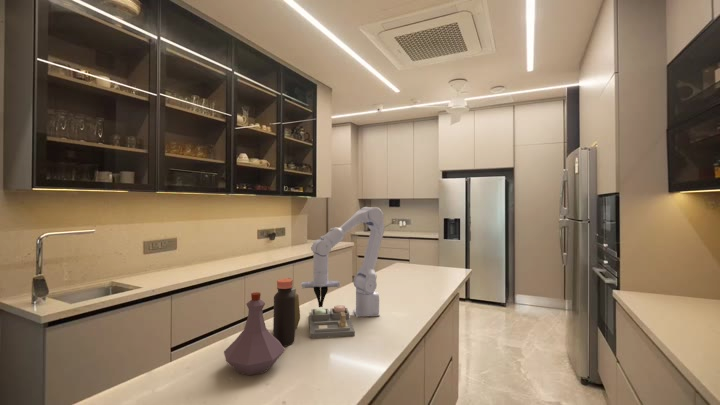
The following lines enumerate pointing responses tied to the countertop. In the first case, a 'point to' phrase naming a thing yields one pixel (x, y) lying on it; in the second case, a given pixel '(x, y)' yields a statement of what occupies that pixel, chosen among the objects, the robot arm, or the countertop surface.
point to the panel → (329, 325)
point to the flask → (254, 343)
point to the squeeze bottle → (296, 307)
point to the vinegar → (284, 313)
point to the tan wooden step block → (342, 320)
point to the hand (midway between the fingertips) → (320, 306)
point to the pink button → (339, 309)
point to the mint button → (319, 311)
